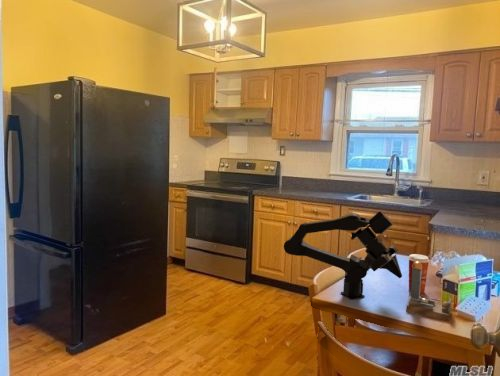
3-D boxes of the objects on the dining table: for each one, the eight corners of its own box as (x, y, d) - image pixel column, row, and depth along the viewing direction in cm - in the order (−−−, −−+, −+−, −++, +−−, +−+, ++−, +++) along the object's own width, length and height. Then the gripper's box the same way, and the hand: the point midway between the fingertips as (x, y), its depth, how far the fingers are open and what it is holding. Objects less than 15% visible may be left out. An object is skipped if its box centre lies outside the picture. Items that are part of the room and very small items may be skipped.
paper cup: (417, 296, 145) (419, 260, 143) (401, 289, 152) (403, 254, 150) (432, 293, 148) (434, 258, 146) (416, 286, 155) (418, 252, 153)
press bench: (406, 311, 131) (407, 295, 130) (410, 303, 137) (411, 288, 137) (449, 321, 124) (450, 304, 123) (451, 312, 130) (452, 296, 130)
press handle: (409, 302, 132) (411, 262, 131) (410, 299, 135) (413, 260, 133) (427, 306, 129) (430, 265, 128) (428, 303, 132) (431, 262, 130)
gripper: (361, 249, 151) (389, 282, 146) (346, 260, 135) (377, 297, 130) (383, 232, 146) (412, 265, 141) (370, 242, 130) (403, 280, 125)
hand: (401, 277), depth 135 cm, fingers closed
